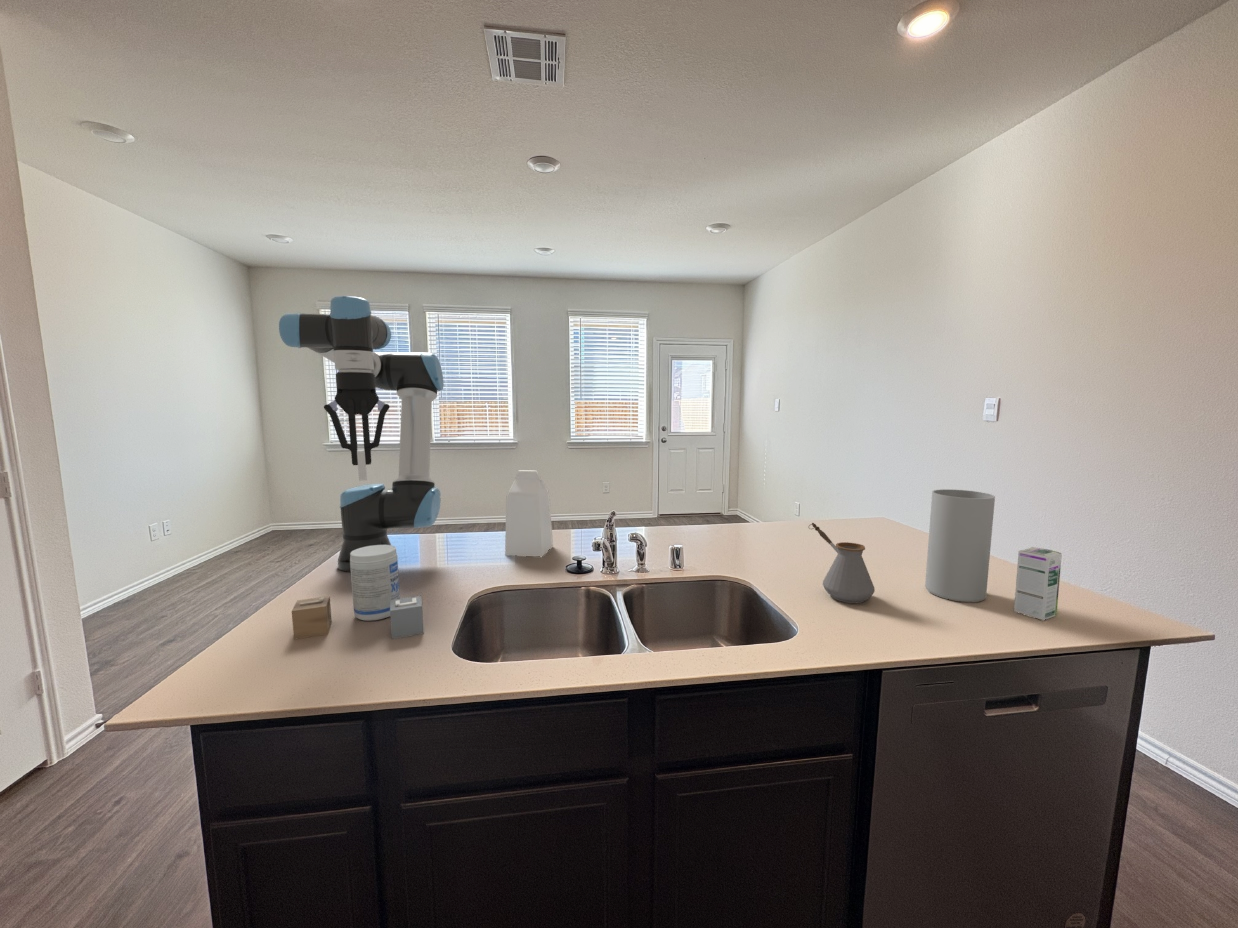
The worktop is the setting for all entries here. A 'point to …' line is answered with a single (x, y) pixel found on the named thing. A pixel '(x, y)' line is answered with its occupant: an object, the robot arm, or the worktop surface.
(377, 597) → the supplement tub
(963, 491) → the cylinder vase
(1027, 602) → the syrup box
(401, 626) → the slate grey marked block
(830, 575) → the coffee pot
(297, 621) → the walnut marked block
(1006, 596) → the worktop surface
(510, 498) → the milk
